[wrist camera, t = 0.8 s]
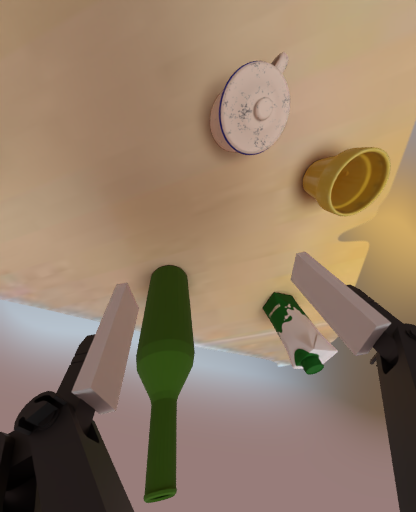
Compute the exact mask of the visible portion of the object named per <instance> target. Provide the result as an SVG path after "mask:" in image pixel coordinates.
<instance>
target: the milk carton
mask: <svg viewBox="0 0 416 512" xmlns="http://www.w3.org/2000/svg"><path fill="white" fill-rule="evenodd" d="M263 310H264V311H265V313H266V314H267V316H268V318H269V319H270V321H271V323H272V324H273V326H274V328H275V330H276V332H277V333H278V335H279V337H280V339H281V341H282V342H283V344H284V346H285V348H286V350H287V352H288V355H289V358H290V361H291V364H292V366H293V368H295V369H304V370H305V372H306V373H307V374H315V373H317V372H319V371H321V370H322V369H323V368H324V365H323V364H324V363H325V362H326V361H327V360H328V359H330V358H331V357H332V356H333V355H334V354H336V353H337V352H338V351H337V350H336V349H335V348H334V347H333V346H332V345H331V344H330V343H329V342H328V341H327V340H326V339H325V338H324V336H323V335H322V334H321V333H320V332H319V331H318V330H317V328H316V327H315V326H314V324H313V323H312V322H311V321H310V319H309V318H308V317H307V316H306V314H305V313H304V312H303V310H302V309H301V308H300V307H299V305H298V304H297V302H296V301H295V299H294V298H293V296H290V295H285V294H280V293H275V292H274V293H273V294H272V296H271V297H270V299H269V300H268V301H267V303H266V304H265V306H264V307H263Z"/></svg>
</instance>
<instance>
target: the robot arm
mask: <svg viewBox="0 0 416 512" xmlns="http://www.w3.org/2000/svg"><path fill="white" fill-rule="evenodd" d="M291 281H292V282H293V283H294V284H295V285H296V287H297V288H298V289H299V290H300V291H301V293H302V294H303V295H304V296H305V297H306V298H307V300H308V301H309V302H310V303H311V304H312V305H313V307H314V308H315V309H316V310H317V311H318V312H319V314H320V315H321V316H322V317H323V318H324V320H325V321H326V322H327V323H328V324H329V325H330V327H331V328H332V329H333V330H334V331H335V332H336V334H337V335H338V336H339V337H340V338H341V339H342V341H343V342H344V343H345V344H346V345H347V346H348V348H349V349H350V350H351V351H352V352H353V354H354V355H355V356H358V355H362V354H367V353H369V351H370V350H371V349H372V347H373V348H374V349H375V350H376V351H377V353H376V354H375V355H374V357H373V358H372V359H371V361H370V364H374V362H375V361H377V365H376V366H377V367H378V374H379V380H380V386H381V392H382V399H383V406H384V411H385V418H386V425H387V431H388V438H389V444H390V450H391V456H392V463H393V470H394V475H395V482H396V488H397V495H398V502H399V508H400V512H416V326H415V325H412V324H403V323H402V322H401V321H399V320H398V319H397V318H395V317H394V316H392V314H390V313H389V312H388V311H386V310H385V309H384V308H383V307H381V306H380V305H378V303H376V302H374V300H372V299H371V298H370V297H368V296H367V295H366V294H365V293H364V292H362V291H361V290H360V289H357V288H356V287H354V286H352V285H345V284H344V283H343V282H341V281H340V280H339V279H338V278H337V277H335V276H334V275H333V274H332V273H330V272H329V271H328V270H327V269H326V268H324V267H323V266H322V265H321V264H320V263H318V262H317V261H316V260H315V259H314V258H312V257H311V256H310V255H309V254H307V253H306V252H302V253H296V257H295V262H294V267H293V271H292V276H291ZM138 310H139V307H138V305H137V303H136V301H135V299H134V296H133V294H132V292H131V290H130V288H129V286H128V284H127V283H123V284H117V285H116V287H115V289H114V292H113V294H112V296H111V299H110V301H109V303H108V306H107V308H106V311H105V313H104V315H103V318H102V320H101V323H100V325H99V327H98V330H97V332H96V334H94V335H89V336H87V337H86V338H85V339H84V340H83V341H82V343H81V344H80V345H79V347H78V349H77V351H76V353H75V357H74V358H73V359H72V362H71V365H70V366H69V368H68V370H67V372H66V374H65V376H64V378H63V381H62V383H61V385H60V387H59V389H58V391H57V393H54V392H51V391H47V392H44V393H41V394H39V395H38V396H36V397H34V398H33V399H32V400H31V401H30V402H29V403H28V404H26V406H25V407H24V408H23V409H22V411H21V412H20V413H19V415H18V417H17V419H16V421H15V425H14V431H13V432H11V433H9V434H6V433H2V432H0V512H134V510H133V508H132V506H131V503H130V501H129V499H128V497H127V494H126V492H125V490H124V488H123V485H122V483H121V481H120V479H119V476H118V474H117V472H116V470H115V467H114V465H113V463H112V461H111V458H110V456H109V453H108V451H107V449H106V447H105V444H104V442H103V440H102V438H101V435H100V433H99V431H98V428H97V426H96V424H95V422H94V421H93V416H94V412H95V411H97V412H98V413H99V414H104V413H109V412H113V411H116V408H117V404H118V399H119V395H120V390H121V386H122V381H123V377H124V373H125V368H126V363H127V359H128V355H129V350H130V346H131V341H132V337H133V332H134V328H135V323H136V319H137V314H138Z"/></svg>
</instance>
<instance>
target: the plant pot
mask: <svg viewBox="0 0 416 512" xmlns="http://www.w3.org/2000/svg"><path fill="white" fill-rule="evenodd" d="M389 174H390V159H389V156H388V155H387V153H386V152H385V151H384V150H382V149H380V148H374V147H365V148H352V149H348V150H346V151H344V152H342V153H340V154H338V155H337V156H333V157H329V158H325V159H321V160H318V161H316V162H314V163H313V164H312V165H311V166H310V167H309V168H308V169H307V171H306V173H305V175H304V177H303V188H304V190H305V191H306V192H307V193H308V194H309V195H311V196H312V197H313V198H315V199H316V200H317V202H318V204H319V205H320V206H321V207H322V208H323V209H324V210H326V211H328V212H331V213H333V214H336V215H339V216H350V215H354V214H356V213H359V212H361V211H362V210H364V209H365V208H367V207H368V206H369V205H370V204H371V203H372V202H373V201H374V200H375V199H376V198H377V197H378V196H379V194H380V193H381V192H382V190H383V189H384V187H385V185H386V183H387V180H388V178H389Z"/></svg>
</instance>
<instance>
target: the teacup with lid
mask: <svg viewBox="0 0 416 512" xmlns="http://www.w3.org/2000/svg"><path fill="white" fill-rule="evenodd" d="M288 60H289V58H288V56H287V54H286V53H285V52H282V53H280V54H279V55H278V56H277V57H276V58H275V59H274V60H273V62H272V63H271V64H270V63H267V62H263V61H253V62H250V63H247V64H245V65H243V66H242V67H240V68H239V69H238V70H237V71H236V72H235V73H234V74H233V75H232V76H231V77H230V79H229V80H228V82H227V84H226V86H225V88H224V89H223V91H222V92H221V93H220V94H219V96H218V97H217V98H216V100H215V102H214V104H213V106H212V110H211V115H210V127H211V132H212V135H213V137H214V139H215V141H216V142H217V144H218V145H219V146H220V147H221V148H223V149H224V150H227V151H230V152H239V153H241V154H245V155H255V154H259V153H261V152H263V151H265V150H267V149H268V148H269V147H271V146H272V145H273V144H274V143H275V142H276V140H277V139H278V138H279V137H280V135H281V133H282V132H283V130H284V128H285V125H286V123H287V119H288V115H289V110H290V94H289V88H288V85H287V82H286V80H285V78H284V76H283V74H282V73H283V72H284V70H285V68H286V66H287V64H288Z"/></svg>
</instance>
